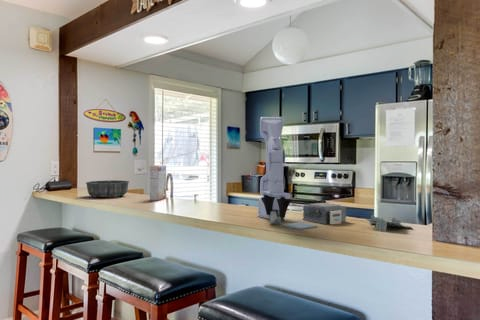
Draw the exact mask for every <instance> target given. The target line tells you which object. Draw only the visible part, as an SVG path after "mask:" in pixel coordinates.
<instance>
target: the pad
mask: <svg viewBox="0 0 480 320" xmlns="http://www.w3.org/2000/svg"><path fill="white" fill-rule="evenodd" d="M282 227H285V228H291V229H294V228H295V229H294V230H298V229H299V231H300V229H302V230H307V229H308V228H309V229H314V228H315V229H316V228H318V225H316V224H311V223H306V222H301V221H299V222H290V223H283V224H282Z"/></svg>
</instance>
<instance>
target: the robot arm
mask: <svg viewBox="0 0 480 320" xmlns="http://www.w3.org/2000/svg"><path fill="white" fill-rule="evenodd" d="M283 127H284V119H283V117H282V116H261V117H260V118H259V133H260V134H259V135H260V137H261V138H262V139H263V140H264V143H265V163H266V164H265V165H266V167H265V168H266V171H265V172H266V173H265V174H263V175H262V177H261V178H260V180H259V181H260V185H259V194H260V195H261V197H259V199H258V203H257V204H258V205H257V206H258V210H257V211H258V212H257V214H256V216H257V217H258V218H264V219H269V220H270V213H271V211H273V209H279V216H280V218H283V217H284V218H286V214H287V211H288V207H289V206H290V203H291V202H292V199H291V198H292V196H291V195H292V193H288V192H285V191H284V190H285V187H284V186H285V185H284V166H285V163H286V151H285V149H284V148H283V143H282V139H281V136H282V133H283V130H284V129H283Z"/></svg>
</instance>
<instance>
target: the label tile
mask: <svg viewBox="0 0 480 320" xmlns="http://www.w3.org/2000/svg"><path fill="white" fill-rule="evenodd" d="M330 224H331V225H332V224H333V225H338V224H342V222H341V210H339V211H330ZM330 224H329V225H330Z"/></svg>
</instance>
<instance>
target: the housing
mask: <svg viewBox="0 0 480 320" xmlns="http://www.w3.org/2000/svg"><path fill="white" fill-rule="evenodd" d="M339 210H341V223H344V222H346V220H347V207H346V206H343V205H341V204H335V203H328V202H318V203H308V204H304V205H303V211H302V212H303V215H302V218H303V221H308V222H312V223H316V224H323V225H330V211H339Z"/></svg>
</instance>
